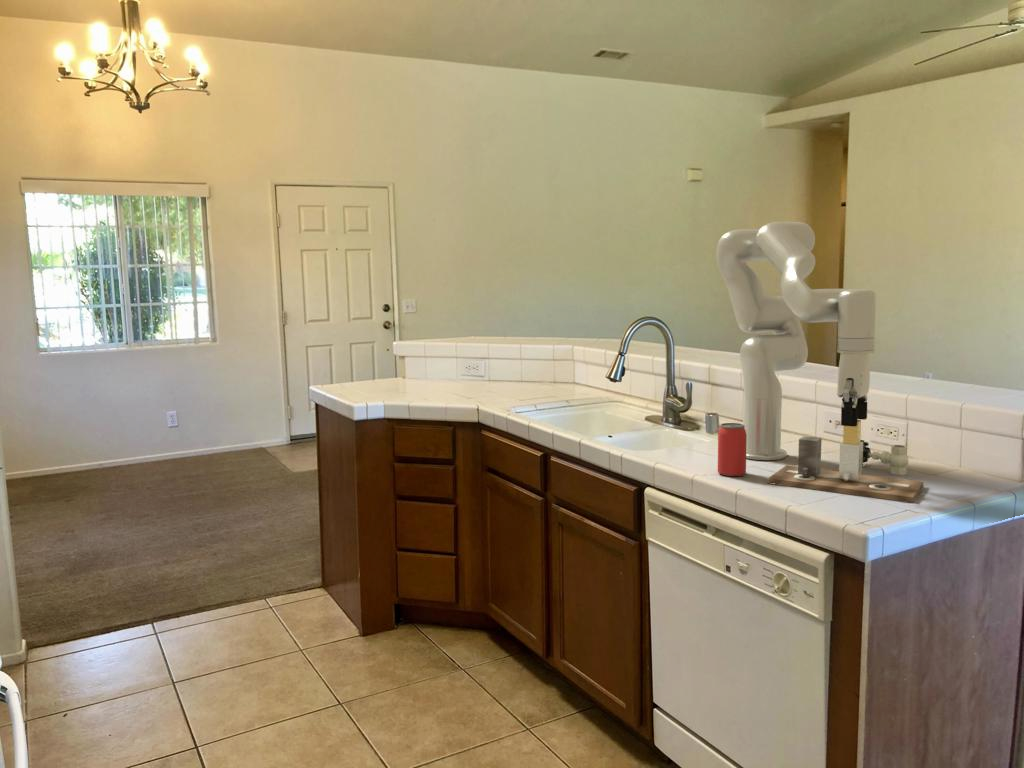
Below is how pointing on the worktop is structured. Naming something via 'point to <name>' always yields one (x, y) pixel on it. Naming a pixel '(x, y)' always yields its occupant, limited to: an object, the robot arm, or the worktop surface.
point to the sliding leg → (851, 453)
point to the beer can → (732, 449)
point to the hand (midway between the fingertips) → (854, 422)
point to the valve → (889, 457)
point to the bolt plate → (827, 480)
